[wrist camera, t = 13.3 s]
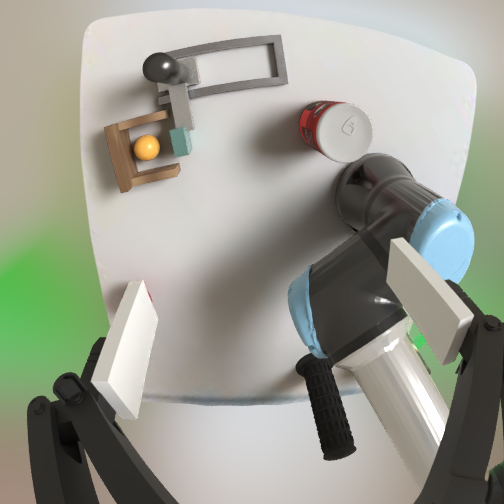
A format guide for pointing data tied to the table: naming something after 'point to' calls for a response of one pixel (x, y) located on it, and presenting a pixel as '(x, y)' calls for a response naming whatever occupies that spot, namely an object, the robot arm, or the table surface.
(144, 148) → the ball
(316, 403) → the handle grip
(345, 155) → the canned food
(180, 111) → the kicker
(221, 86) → the rail
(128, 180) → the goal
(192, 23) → the table surface
